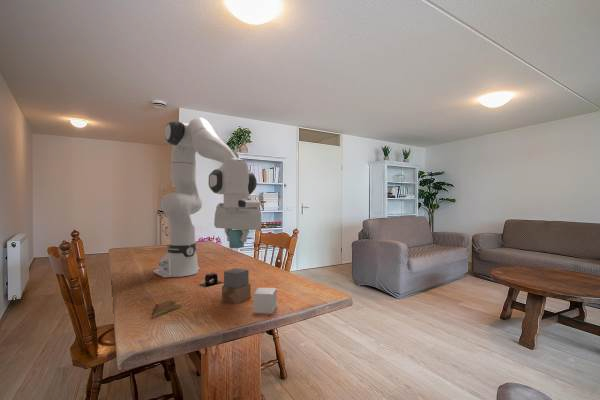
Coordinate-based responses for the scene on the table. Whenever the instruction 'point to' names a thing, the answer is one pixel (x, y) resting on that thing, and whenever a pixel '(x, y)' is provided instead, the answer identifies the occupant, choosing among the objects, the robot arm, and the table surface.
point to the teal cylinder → (235, 239)
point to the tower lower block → (236, 293)
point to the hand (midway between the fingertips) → (236, 241)
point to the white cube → (265, 300)
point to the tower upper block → (236, 278)
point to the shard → (165, 307)
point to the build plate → (211, 283)
